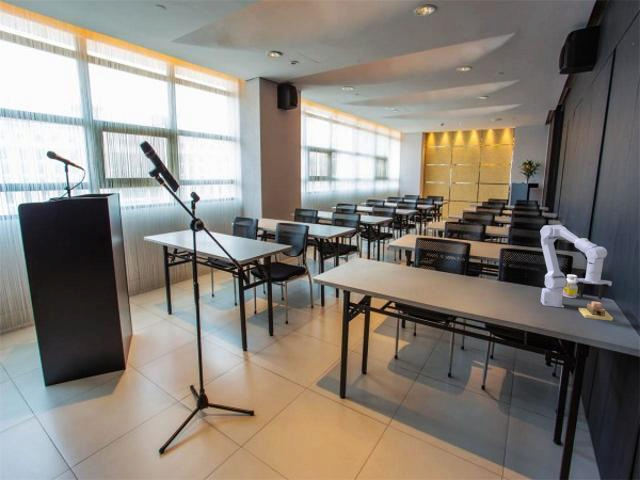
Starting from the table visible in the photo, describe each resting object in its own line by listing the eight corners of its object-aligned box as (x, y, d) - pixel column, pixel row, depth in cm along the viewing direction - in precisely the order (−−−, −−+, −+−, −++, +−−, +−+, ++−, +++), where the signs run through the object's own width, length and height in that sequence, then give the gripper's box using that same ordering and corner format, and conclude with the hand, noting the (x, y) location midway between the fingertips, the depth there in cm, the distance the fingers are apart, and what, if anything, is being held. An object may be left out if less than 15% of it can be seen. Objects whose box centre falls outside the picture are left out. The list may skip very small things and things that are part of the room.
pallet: (592, 315, 168) (593, 308, 168) (586, 309, 176) (587, 303, 175) (604, 316, 166) (605, 310, 166) (598, 310, 174) (599, 304, 173)
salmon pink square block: (593, 307, 169) (594, 303, 169) (591, 305, 172) (591, 301, 172) (600, 308, 168) (601, 304, 168) (598, 306, 171) (598, 302, 171)
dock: (585, 317, 169) (585, 314, 168) (578, 310, 178) (579, 307, 178) (612, 320, 165) (613, 317, 164) (604, 313, 174) (604, 310, 174)
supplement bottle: (561, 293, 203) (563, 273, 201) (574, 295, 200) (577, 274, 198) (564, 297, 197) (567, 276, 194) (578, 298, 194) (581, 277, 192)
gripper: (578, 272, 163) (575, 298, 166) (616, 274, 158) (611, 302, 161) (574, 268, 170) (570, 294, 172) (609, 271, 165) (605, 297, 167)
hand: (590, 297), depth 167 cm, fingers open, 7 cm apart
